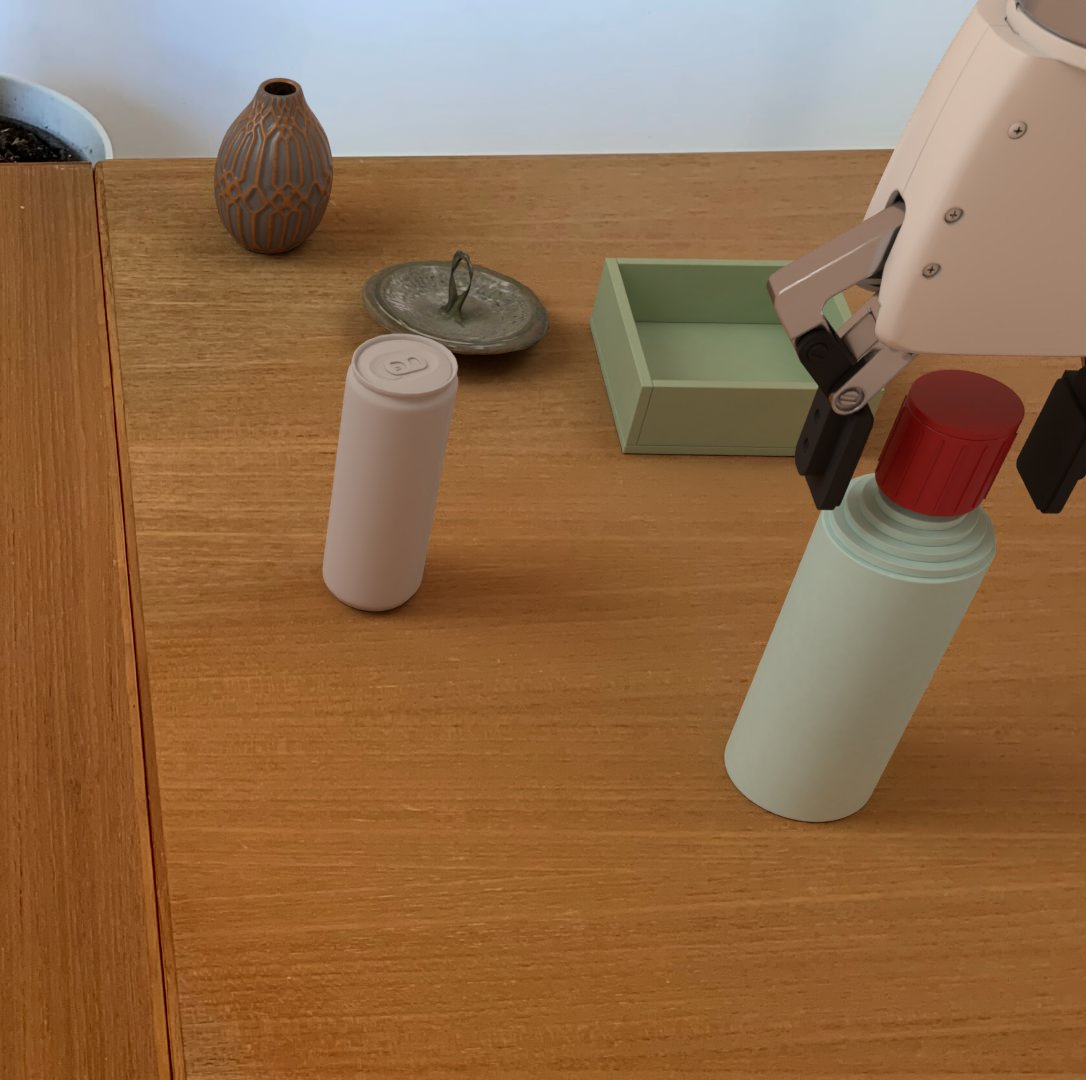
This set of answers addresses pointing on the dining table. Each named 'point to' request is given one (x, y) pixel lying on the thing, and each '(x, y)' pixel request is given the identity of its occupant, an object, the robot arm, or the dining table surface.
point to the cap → (948, 442)
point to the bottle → (854, 651)
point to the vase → (273, 170)
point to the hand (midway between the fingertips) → (927, 486)
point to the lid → (456, 305)
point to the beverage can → (388, 469)
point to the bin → (702, 357)
